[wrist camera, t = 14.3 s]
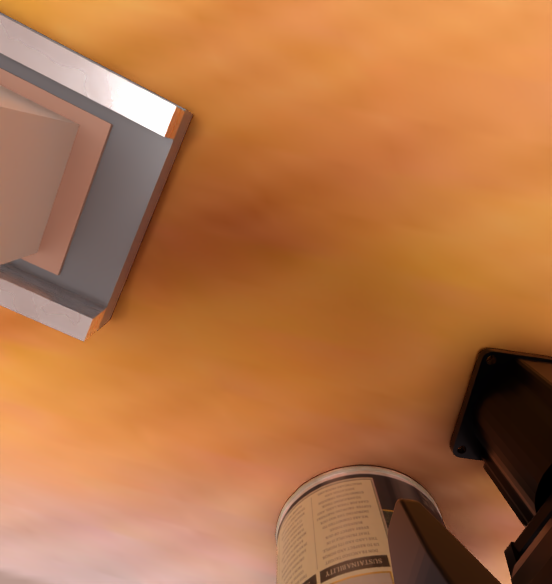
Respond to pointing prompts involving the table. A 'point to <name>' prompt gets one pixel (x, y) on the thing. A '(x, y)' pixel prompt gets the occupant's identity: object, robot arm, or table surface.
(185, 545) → the table surface
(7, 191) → the cream block
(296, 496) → the coffee can
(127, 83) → the display base
